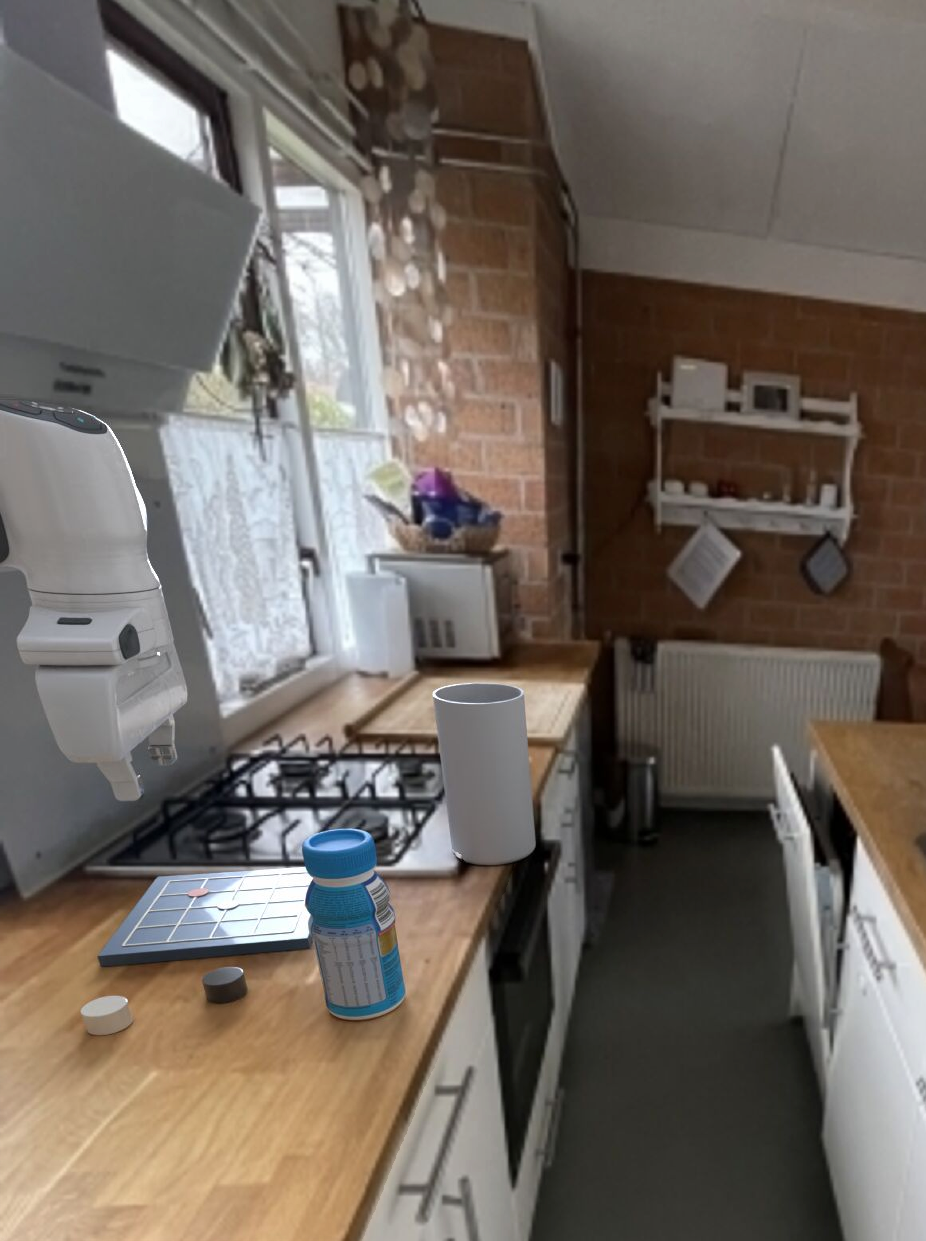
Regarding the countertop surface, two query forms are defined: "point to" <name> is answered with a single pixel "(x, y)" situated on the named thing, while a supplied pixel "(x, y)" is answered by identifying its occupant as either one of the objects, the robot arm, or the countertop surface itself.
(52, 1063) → the countertop surface
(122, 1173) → the countertop surface
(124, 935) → the board
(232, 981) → the black stone
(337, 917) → the beverage bottle
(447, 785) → the cylinder vase
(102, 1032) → the ivory stone
